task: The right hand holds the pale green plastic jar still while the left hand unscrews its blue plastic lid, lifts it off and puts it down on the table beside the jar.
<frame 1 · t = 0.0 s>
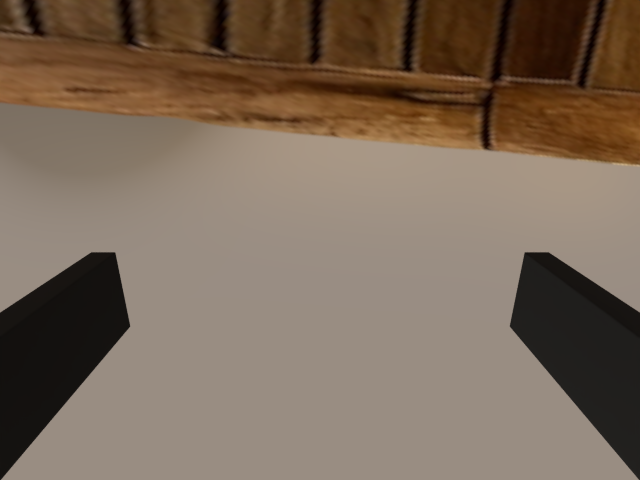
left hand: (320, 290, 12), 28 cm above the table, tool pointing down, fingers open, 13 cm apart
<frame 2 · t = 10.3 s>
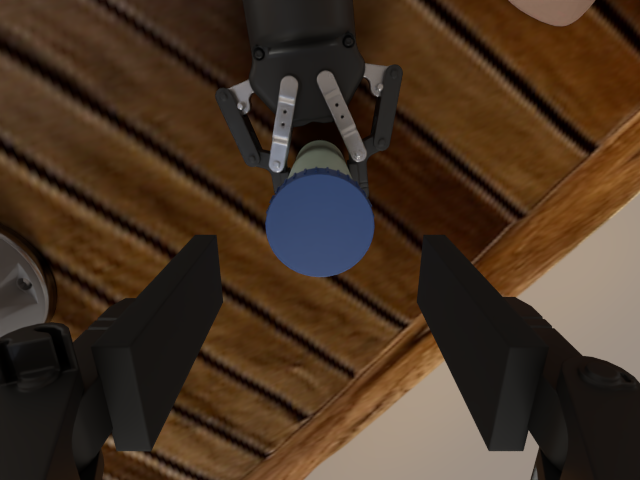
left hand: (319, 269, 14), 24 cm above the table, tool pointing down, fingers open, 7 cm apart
right hand: (324, 209, 31), fingers closed on jar, 4 cm apart
jar: (320, 165, 36), on the table, touching right hand
lid: (319, 225, 19), point 19 cm above the table, screwed on, not yet turned
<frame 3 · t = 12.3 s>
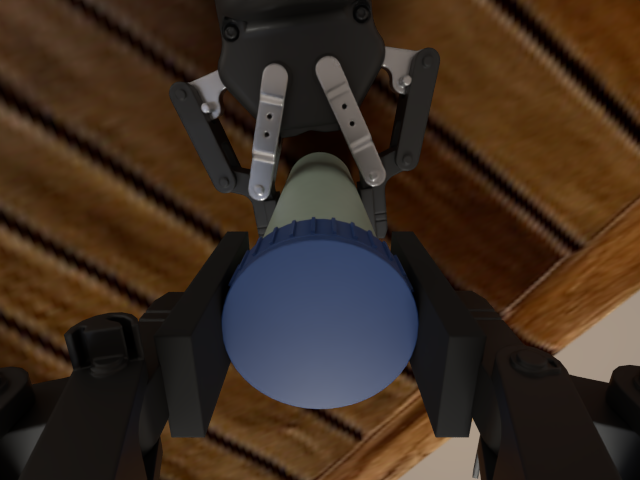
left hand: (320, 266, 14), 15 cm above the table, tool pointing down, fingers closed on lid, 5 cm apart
right hand: (325, 248, 23), fingers closed on jar, 4 cm apart
jar: (319, 184, 28), on the table, touching right hand
lid: (320, 324, 10), point 19 cm above the table, screwed on, not yet turned, touching left hand
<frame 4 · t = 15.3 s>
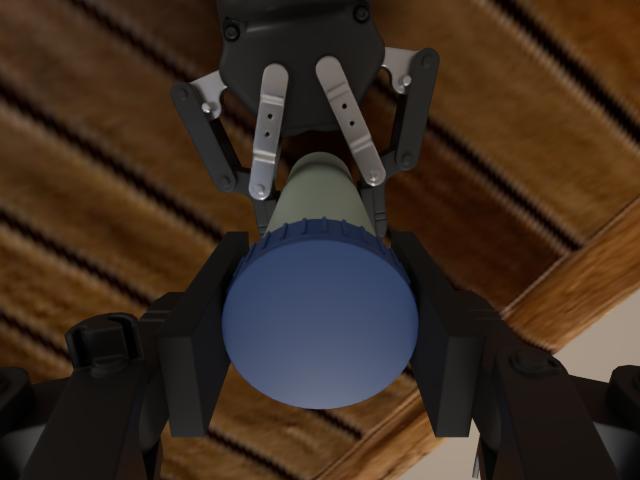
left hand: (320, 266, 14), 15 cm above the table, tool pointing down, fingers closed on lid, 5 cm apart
right hand: (325, 247, 23), fingers closed on jar, 4 cm apart
jar: (320, 184, 28), on the table, touching right hand
lid: (320, 324, 10), point 19 cm above the table, turned 90° so far, risen 0.1 cm, still on its thread, touching left hand
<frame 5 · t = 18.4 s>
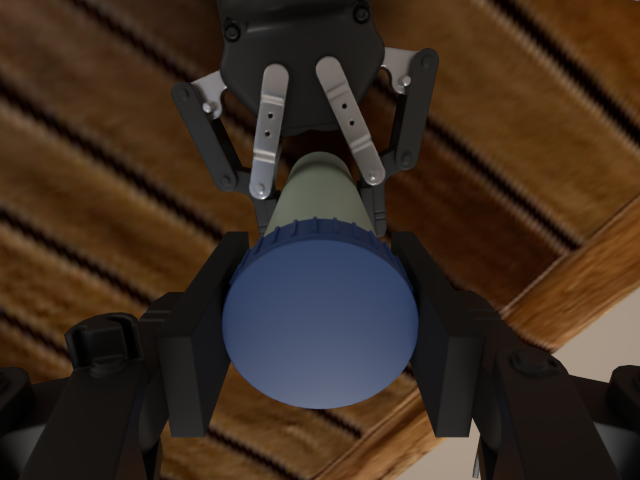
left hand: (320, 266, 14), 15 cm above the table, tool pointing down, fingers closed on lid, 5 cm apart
right hand: (325, 246, 23), fingers closed on jar, 4 cm apart
jar: (320, 183, 28), on the table, touching right hand
lid: (320, 324, 10), point 19 cm above the table, turned 179° so far, risen 0.2 cm, still on its thread, touching left hand
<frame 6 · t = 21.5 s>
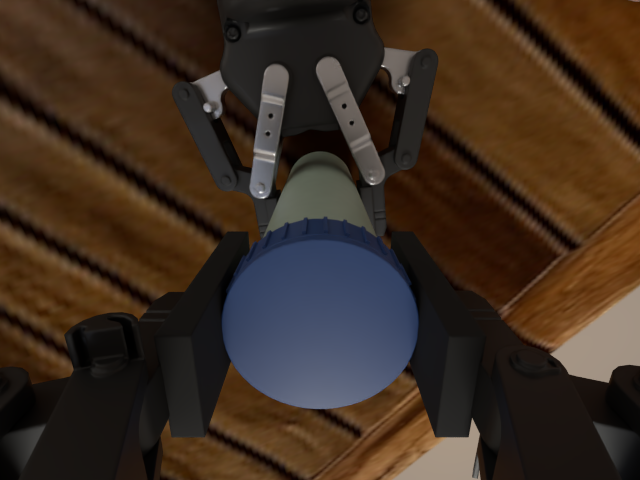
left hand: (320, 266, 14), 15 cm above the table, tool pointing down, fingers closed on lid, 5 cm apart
right hand: (325, 246, 23), fingers closed on jar, 4 cm apart
jar: (320, 183, 28), on the table, touching right hand
lid: (320, 324, 10), point 19 cm above the table, turned 269° so far, risen 0.4 cm, still on its thread, touching left hand
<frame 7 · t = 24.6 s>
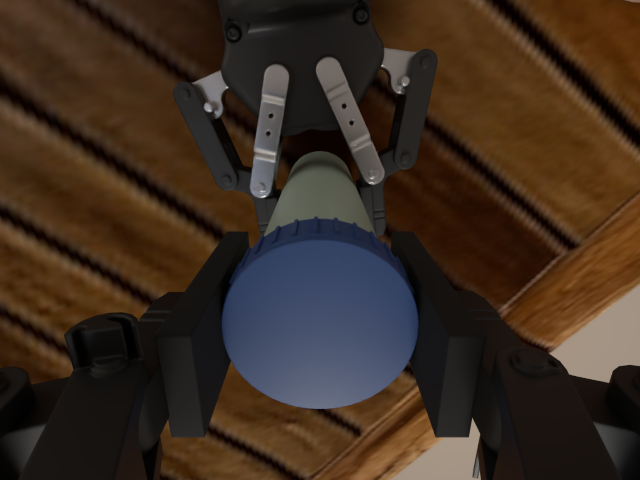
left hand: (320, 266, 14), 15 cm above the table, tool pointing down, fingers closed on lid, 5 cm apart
right hand: (325, 245, 23), fingers closed on jar, 4 cm apart
jar: (320, 183, 28), on the table, touching right hand
lid: (320, 324, 10), point 19 cm above the table, turned 359° so far, risen 0.5 cm, still on its thread, touching left hand
when the left hand's fingers open (0 cm above the table, at t = 33.4 s): lid drops 3 cm, point 1 cm above the table.
when the right hand's fingers open (6 cm above the table, at t = 34.0 s): jar stays where it is, on the table.
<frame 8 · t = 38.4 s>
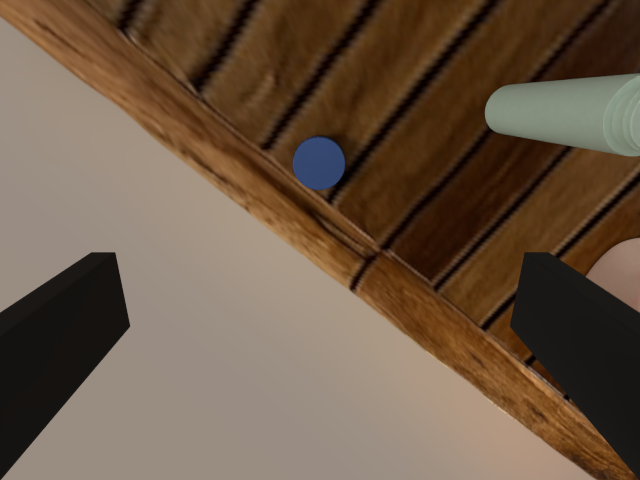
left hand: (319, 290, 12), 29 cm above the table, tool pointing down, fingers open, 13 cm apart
anatomical model: (637, 278, 45), on the table
jar: (508, 109, 38), on the table
lid: (319, 163, 39), point 1 cm above the table, off its thread
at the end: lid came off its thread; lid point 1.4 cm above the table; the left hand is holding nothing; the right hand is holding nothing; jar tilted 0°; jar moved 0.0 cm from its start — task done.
